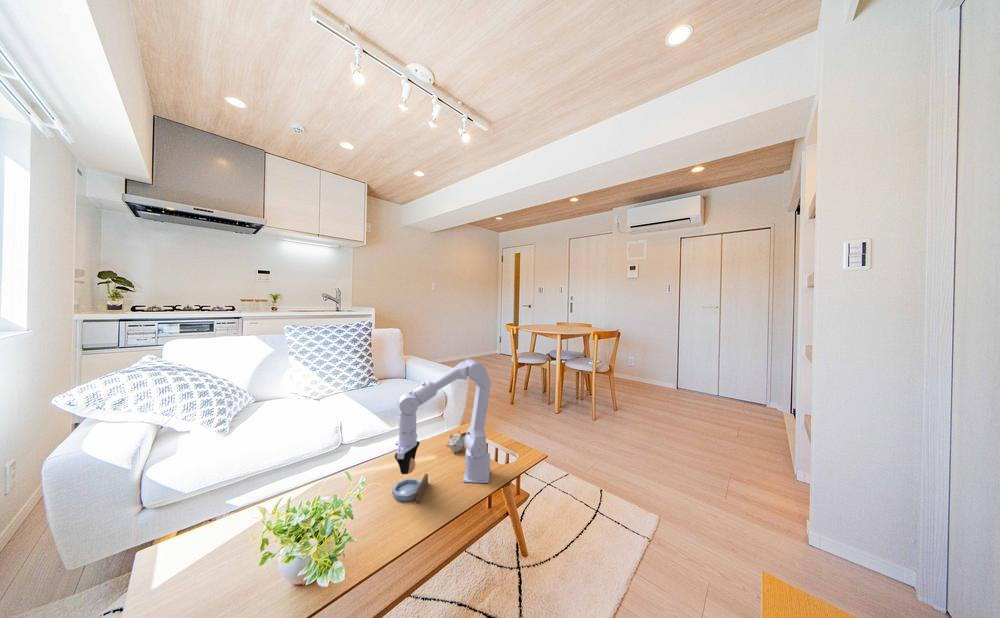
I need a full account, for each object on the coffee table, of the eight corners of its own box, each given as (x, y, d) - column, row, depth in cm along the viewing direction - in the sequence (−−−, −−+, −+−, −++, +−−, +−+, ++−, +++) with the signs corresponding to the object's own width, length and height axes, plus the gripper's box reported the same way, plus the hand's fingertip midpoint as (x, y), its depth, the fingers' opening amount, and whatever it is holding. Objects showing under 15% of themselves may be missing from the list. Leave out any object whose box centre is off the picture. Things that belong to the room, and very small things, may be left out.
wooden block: (427, 483, 110) (427, 473, 110) (418, 503, 99) (418, 493, 99) (425, 483, 110) (425, 473, 110) (415, 503, 99) (415, 493, 99)
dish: (425, 484, 109) (425, 479, 109) (416, 502, 100) (416, 496, 100) (399, 483, 110) (399, 478, 110) (388, 501, 100) (388, 495, 100)
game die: (453, 461, 132) (439, 445, 129) (458, 445, 139) (445, 430, 137) (469, 455, 129) (455, 439, 126) (474, 439, 136) (460, 423, 134)
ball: (417, 468, 107) (417, 454, 107) (412, 477, 102) (412, 462, 102) (402, 468, 107) (402, 453, 107) (397, 476, 102) (397, 461, 102)
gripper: (403, 420, 111) (403, 457, 112) (387, 439, 97) (387, 480, 97) (422, 421, 111) (422, 457, 112) (409, 440, 97) (409, 481, 97)
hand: (407, 468), depth 105 cm, fingers closed on ball, 5 cm apart
